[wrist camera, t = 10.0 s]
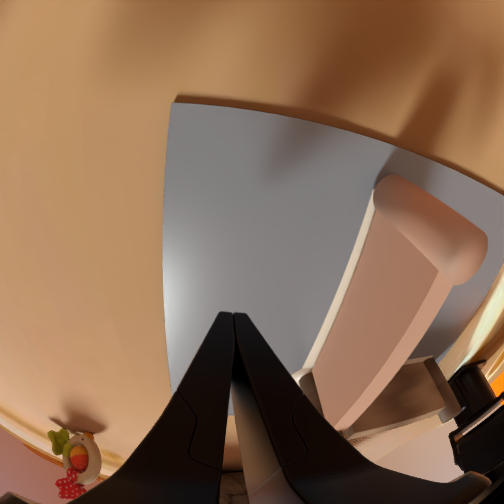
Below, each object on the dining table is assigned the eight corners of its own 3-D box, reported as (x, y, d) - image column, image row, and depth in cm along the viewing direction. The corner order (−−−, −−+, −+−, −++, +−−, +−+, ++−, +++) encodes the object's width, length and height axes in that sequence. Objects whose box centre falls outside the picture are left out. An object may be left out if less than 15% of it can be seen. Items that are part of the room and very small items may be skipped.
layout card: (523, 207, 13) (526, 209, 12) (409, 393, 24) (410, 395, 23) (173, 102, 9) (171, 102, 9) (174, 408, 20) (174, 412, 20)
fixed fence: (436, 353, 20) (465, 407, 14) (425, 367, 21) (451, 419, 15) (302, 367, 18) (322, 451, 12) (294, 382, 19) (311, 460, 13)
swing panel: (333, 369, 17) (354, 435, 13) (306, 370, 17) (324, 440, 13) (413, 179, 11) (495, 234, 6) (379, 170, 10) (463, 225, 6)
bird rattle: (73, 407, 25) (41, 430, 23) (77, 481, 15) (41, 495, 14) (109, 429, 28) (74, 450, 26) (122, 497, 18) (82, 511, 17)
